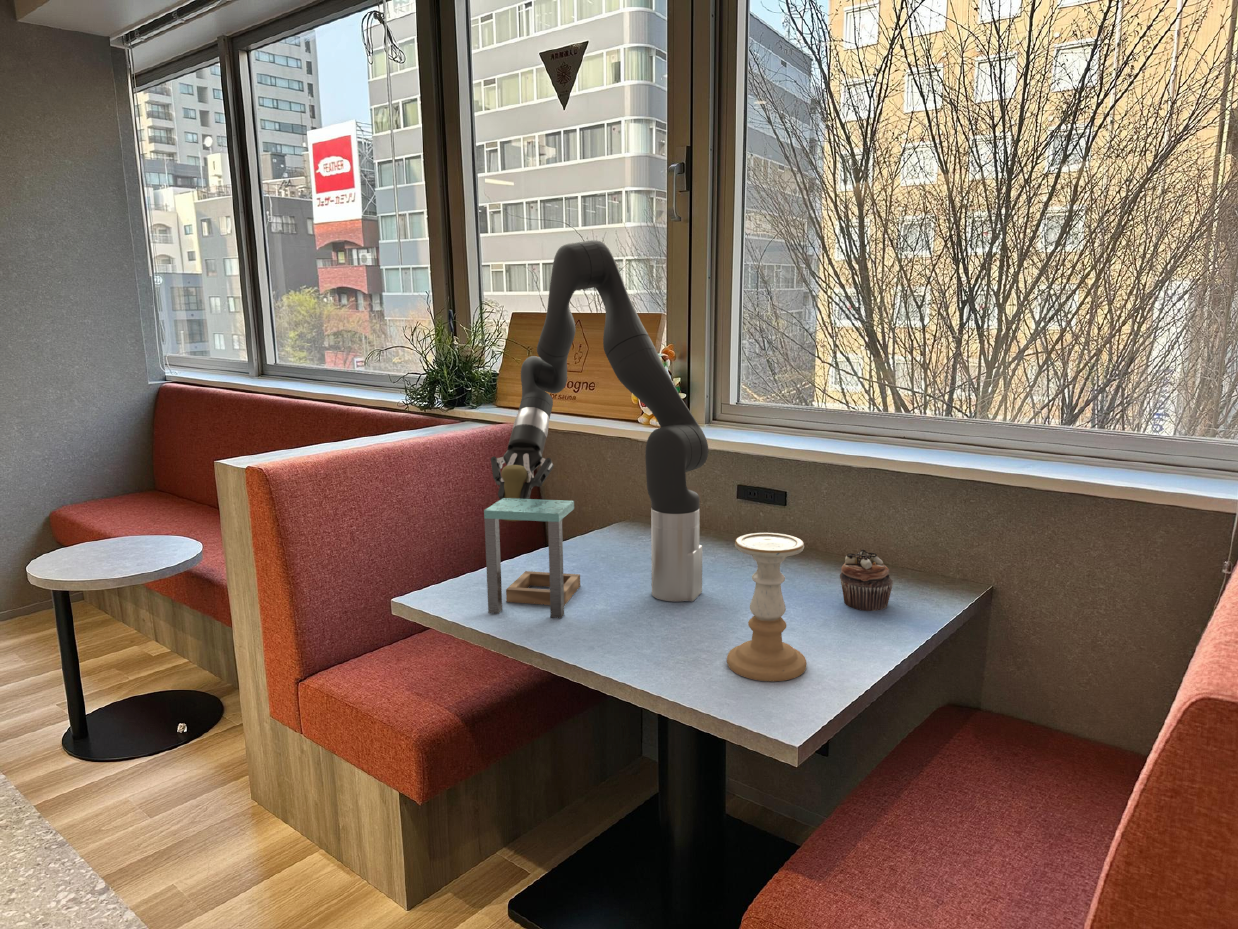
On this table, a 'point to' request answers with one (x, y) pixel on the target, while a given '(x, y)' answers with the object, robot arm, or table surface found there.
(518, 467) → the cork
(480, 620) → the table surface
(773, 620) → the candle holder
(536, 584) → the socket
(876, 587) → the cupcake
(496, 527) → the mint green stool
